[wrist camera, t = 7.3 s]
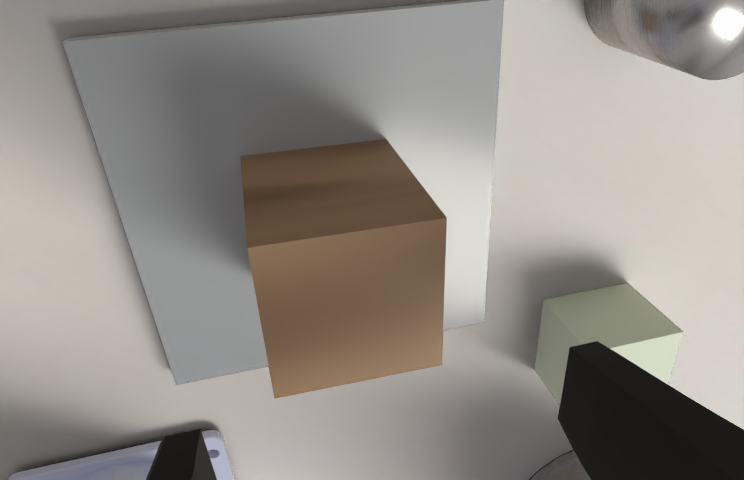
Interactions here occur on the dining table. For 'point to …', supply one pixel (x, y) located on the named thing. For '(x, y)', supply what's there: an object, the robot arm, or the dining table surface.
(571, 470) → the pillar candle
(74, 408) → the dining table surface
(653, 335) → the sage box
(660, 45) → the grey cylinder
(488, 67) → the slate tile
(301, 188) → the walnut block
